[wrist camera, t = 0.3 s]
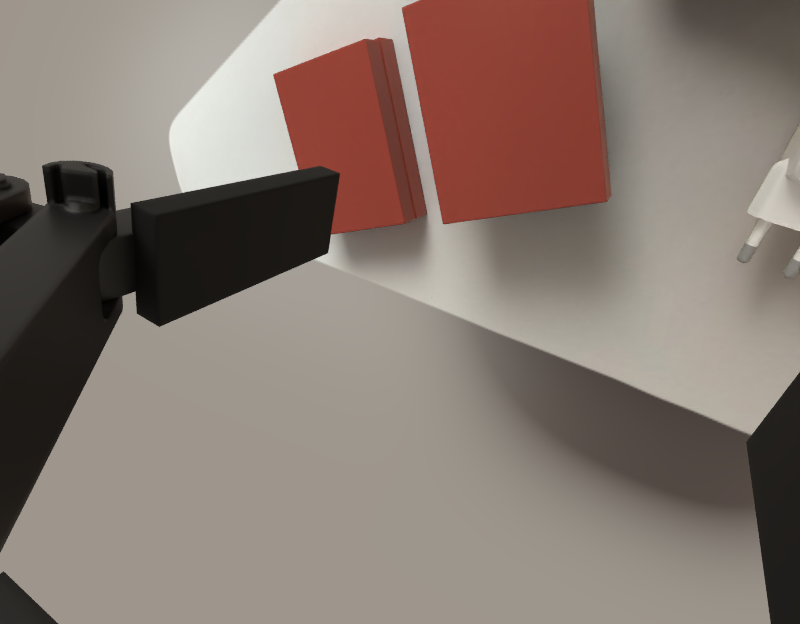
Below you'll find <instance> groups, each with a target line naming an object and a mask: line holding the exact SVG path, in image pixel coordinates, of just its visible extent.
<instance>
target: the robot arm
mask: <svg viewBox="0 0 800 624" xmlns="http://www.w3.org/2000/svg"><path fill="white" fill-rule="evenodd" d="M42 168H43V175H44V182H45V189H46V196H47V204H46V205H45V206H42V205H38V204H35V203H32V201H31V194H30V188H29V183H28V182H26V181H25V180H23V179H20V178H17V177H13V176H6V175H5V174H1V173H0V552H1V550H2V548H3V546H4V544H5V542H6V540H7V538H8V536H9V534H10V532H11V530H12V528H13V526H14V524H15V522H16V520H17V518H18V516H19V515H20V512H21V511H22V508H23V507H24V504H25V503H26V501H27V499H28V497H29V494H30V493H31V491H32V489H33V487H34V485H35V483H36V481H37V479H38V477H39V475H40V473H41V471H42V469H43V467H44V465H45V463H46V461H47V459H48V457H49V455H50V453H51V451H52V449H53V447H54V445H55V443H56V441H57V439H58V437H59V435H60V433H61V431H62V429H63V427H64V425H65V423H66V421H67V419H68V417H69V415H70V413H71V411H72V409H73V407H74V406H75V404H76V402H77V400H78V397H79V396H80V394H81V392H82V390H83V387H84V386H85V384H86V382H87V380H88V378H89V376H90V374H91V372H92V370H93V368H94V366H95V364H96V362H97V360H98V358H99V356H100V354H101V352H102V350H103V348H104V346H105V344H106V342H107V340H108V338H109V336H110V334H111V332H112V330H113V328H114V326H115V324H116V322H117V320H118V318H119V316H120V314H121V312H122V309H123V301H122V296H123V295H126V294H129V293H132V292H135V291H136V306H137V314H139V315H140V316H142V317H144V318H145V319H147V320H149V321H150V322H152V323H154V324H156V325H157V326H159V327H160V326H162V325H165V324H167V323H169V322H171V321H174V320H176V319H178V318H181V317H183V316H185V315H187V314H190V313H192V312H194V311H197V310H199V309H201V308H203V307H206V306H208V305H210V304H213V303H215V302H217V301H219V300H221V299H224V298H226V297H229V296H231V295H233V294H235V293H238V292H240V291H242V290H244V289H247V288H249V287H251V286H254V285H256V284H258V283H261V282H263V281H265V280H267V279H270V278H272V277H274V276H276V275H279V274H281V273H283V272H286V271H288V270H290V269H292V268H295V267H297V266H299V265H302V264H304V263H306V262H308V261H311V260H313V259H315V258H318V257H320V256H322V255H325V254H327V253H328V250H329V243H330V237H331V230H332V224H333V217H334V211H335V204H336V197H337V191H338V184H339V178H340V173H338V172H336V171H333V170H330V169H328V168H325V167H323V166H316V167H311V168H306V169H301V170H296V171H291V172H286V173H281V174H276V175H271V176H266V177H261V178H256V179H251V180H246V181H241V182H236V183H230V184H225V185H220V186H215V187H210V188H205V189H200V190H195V191H190V192H185V193H180V194H175V195H170V196H165V197H160V198H155V199H150V200H145V201H140V202H134V203H131V208H128V209H122V210H118V211H116V205H115V192H114V178H113V171H112V170H111V169H109V168H108V167H105V166H103V165H100V164H96V163H90V162H83V161H58V162H52V163H48V164H45V165H43V166H42ZM746 443H747V450H748V457H749V465H750V473H751V480H752V487H753V494H754V501H755V510H756V517H757V524H758V531H759V539H760V546H761V554H762V561H763V569H764V576H765V584H766V591H767V598H768V606H769V613H770V620H771V624H800V373H799V374H798V375H797V376H796V378H795V379H794V380H793V382H792V383H791V384H790V386H789V387H788V388H787V390H786V391H785V392H784V394H783V395H782V396H781V397H780V399H779V400H778V401H777V403H776V404H775V405H774V407H773V408H772V409H771V411H770V412H769V413H768V414H767V416H766V417H765V418H764V420H763V421H762V422H761V424H760V425H759V426H758V428H757V429H756V430H755V432H754V433H753V434H752V435H751V437H750V438H749V439H748V441H747V442H746ZM0 624H58V623H57V622H56V621H55V620H54V619H53V618H52V617H51V616H50V615H49V614H47V613H46V612H45V611H44V610H43V609H42V608H41V607H40V606H39V605H38V604H37V603H36V602H35V601H34V600H33V599H32V598H31V597H30V596H29V595H28V594H27V593H25V591H24V590H22V589H21V588H20V587H19V586H18V585H17V584H16V583H15V582H14V581H13V580H12V579H11V578H10V577H9V576H8V575H7V574H6V573H5V572H2V573H1V574H0Z"/></svg>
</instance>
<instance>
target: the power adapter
mask: <svg viewBox="0 0 800 624" xmlns="http://www.w3.org/2000/svg"><path fill="white" fill-rule="evenodd" d="M747 213H749V214H750V215H752V216H754V217H756V218H759V220H758V222H757V223H756V225H755V228H754V230H753V232H752V233H751V235H750V237H749V238H748V240H747V242H745V244H744V246H743V247H742V249H741V251H740V252H739V254H738V256H737V260H738V261H739V262H741V263H747V262H749V261H750V259H751V257H752V256H753V254H754V252H755V251H756V249H757V247H758V245H759V243H760V241H761V240H762V238H763V236H764V235H765V233H766V231H768V229H769V228H770V226H771V225H772V223H774V224H778V225H781V226H784V227H787V228H791V229H794V230H797V231H800V124H799V126H798V127H797V129H796V131H795V133H794V134H793V136H792V138H791V140H790V141H789V143H788V145H787V147H786V149H785V151H784V153H783V154H782V156H781V160H780V162H777V163H776V164H774V165H773V167H772V168H771V170H770V171H769V173H768V175H767V177H766V178H765V180H764V182H763V184H762V185H761V187H760V189H759V191H758V192H757V194H756V196H755V198H754V199H753V201H752V203H751V204H750V206H749V208H748V210H747ZM799 271H800V247H799V249H798V250H797V252H796V253H795V255H794V256H793V257H792V258H791V260H790V261H789V263H788V264H787V266H786V268H785V269H784V271H783V273H782V274H783V276H784V277H785V278H788V279H793V278H795V277H796V275H797V274H798V273H799Z"/></svg>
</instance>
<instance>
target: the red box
mask: <svg viewBox="0 0 800 624" xmlns="http://www.w3.org/2000/svg"><path fill="white" fill-rule="evenodd" d="M273 76H274V79H275V83H276V87H277V91H278V94H279V98H280V102H281V106H282V109H283V113H284V117H285V121H286V124H287V128H288V132H289V136H290V139H291V143H292V147H293V151H294V154H295V158H296V162H297V166H298V169H299V170H301V169H306V168H311V167H316V166H323V167H325V168H328V169H330V170H333V171H336V172H338V173H340V178H339V184H338V191H337V197H336V204H335V211H334V217H333V224H332V230H331V234H338V233H344V232H351V231H358V230H365V229H372V228H379V227H386V226H393V225H400V224H405V223H407V222H409V221H412V220H414V219H417V218H419V217H421V216H423V215H425V214H427V211H426V206H425V201H424V196H423V191H422V186H421V181H420V176H419V171H418V166H417V161H416V156H415V151H414V146H413V141H412V136H411V131H410V126H409V121H408V116H407V111H406V106H405V101H404V96H403V91H402V86H401V81H400V76H399V71H398V66H397V61H396V56H395V51H394V46H393V41H392V39H385V38H377V39H374V40H369V39H363V40H361V41H358V42H356V43H353V44H351V45H348V46H345V47H343V48H340V49H338V50H335V51H332V52H330V53H327V54H325V55H322V56H319V57H317V58H314V59H312V60H309V61H306V62H304V63H301V64H299V65H296V66H294V67H291V68H288V69H286V70H283V71H281V72H278V73H275V74H273Z"/></svg>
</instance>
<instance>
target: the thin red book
mask: <svg viewBox="0 0 800 624" xmlns="http://www.w3.org/2000/svg"><path fill="white" fill-rule="evenodd" d="M402 11H403V17H404V22H405V27H406V32H407V38H408V43H409V48H410V53H411V59H412V64H413V69H414V74H415V79H416V85H417V90H418V95H419V100H420V106H421V111H422V116H423V121H424V127H425V132H426V137H427V142H428V147H429V153H430V158H431V163H432V168H433V174H434V179H435V184H436V189H437V195H438V200H439V205H440V210H441V215H442V221H443V224H449V223H457V222H464V221H471V220H478V219H486V218H493V217H500V216H507V215H515V214H522V213H529V212H536V211H544V210H551V209H558V208H565V207H573V206H580V205H587V204H594V203H601V202H607V201H608V199H609V198H610V197H611V185H610V174H609V163H608V152H607V141H606V130H605V120H604V109H603V98H602V87H601V76H600V65H599V54H598V43H597V33H596V22H595V11H594V0H419V1H417V2H414V3H412V4H410V5H407V6H405V7H403V8H402Z"/></svg>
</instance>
